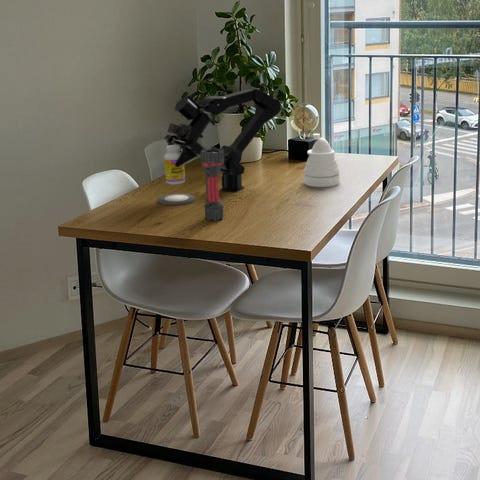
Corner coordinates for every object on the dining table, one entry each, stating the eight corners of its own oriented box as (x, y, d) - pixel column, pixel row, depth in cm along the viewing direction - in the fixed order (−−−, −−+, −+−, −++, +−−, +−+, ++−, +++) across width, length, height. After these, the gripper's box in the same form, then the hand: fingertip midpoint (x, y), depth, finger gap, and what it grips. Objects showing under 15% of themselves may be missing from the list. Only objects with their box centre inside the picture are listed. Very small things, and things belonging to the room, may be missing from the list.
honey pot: (299, 185, 323) (299, 137, 318) (310, 177, 334) (310, 130, 329) (333, 188, 318) (333, 138, 313) (343, 179, 330) (343, 131, 324)
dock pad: (202, 197, 311) (202, 195, 311) (182, 207, 300) (182, 204, 300) (171, 194, 317) (171, 192, 317) (150, 203, 307) (150, 200, 306)
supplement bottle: (170, 186, 303) (167, 149, 299) (163, 182, 308) (160, 146, 304) (188, 183, 306) (185, 146, 302) (180, 179, 311) (178, 143, 307)
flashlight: (218, 224, 280) (215, 152, 273) (198, 221, 284) (194, 150, 277) (231, 217, 286) (229, 147, 279) (211, 214, 290) (208, 146, 283)
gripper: (167, 111, 309) (141, 147, 307) (195, 117, 294) (168, 155, 292) (187, 129, 316) (163, 165, 313) (216, 137, 301) (190, 174, 299)
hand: (170, 164), depth 304 cm, fingers closed on supplement bottle, 7 cm apart
